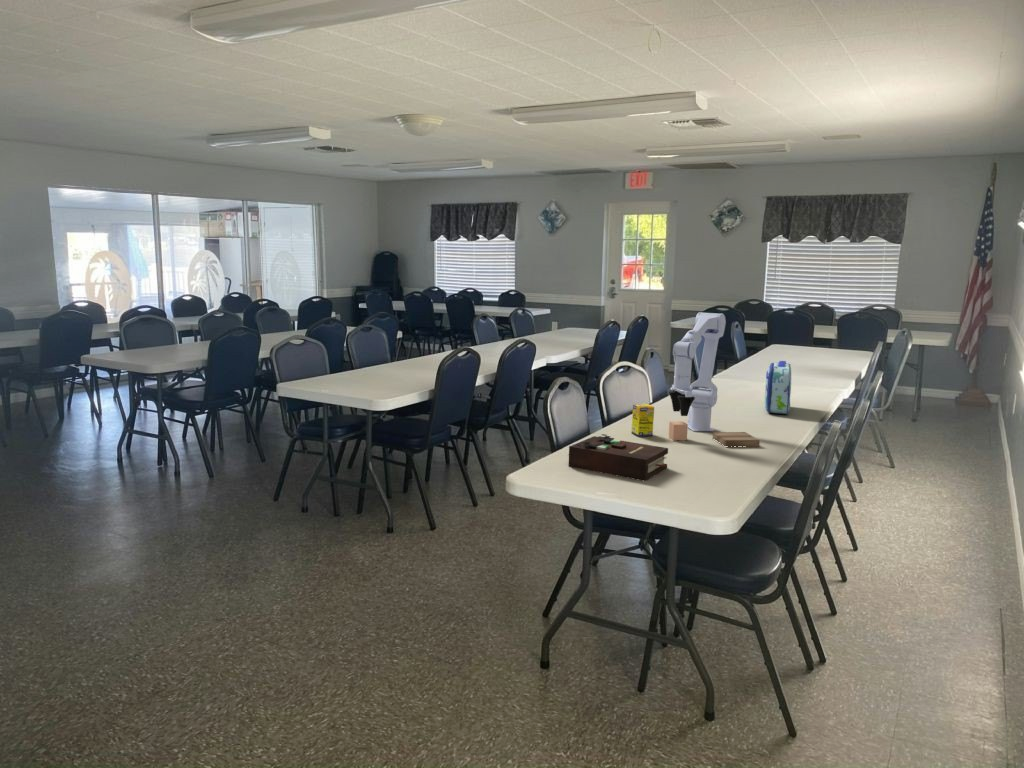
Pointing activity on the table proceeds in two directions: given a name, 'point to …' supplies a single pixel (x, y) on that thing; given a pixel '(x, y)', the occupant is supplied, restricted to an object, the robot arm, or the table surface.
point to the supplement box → (642, 420)
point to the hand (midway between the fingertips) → (680, 413)
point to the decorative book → (618, 457)
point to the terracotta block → (678, 430)
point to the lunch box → (778, 388)
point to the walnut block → (736, 439)
